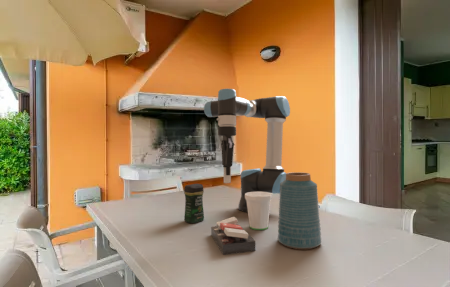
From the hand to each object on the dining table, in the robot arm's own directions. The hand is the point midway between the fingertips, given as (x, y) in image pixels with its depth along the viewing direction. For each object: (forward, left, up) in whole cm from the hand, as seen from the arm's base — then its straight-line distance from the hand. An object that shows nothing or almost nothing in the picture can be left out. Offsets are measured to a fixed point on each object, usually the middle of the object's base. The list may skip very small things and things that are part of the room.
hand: (227, 182), depth 113 cm
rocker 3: (0, +13, -17) cm, 21 cm away
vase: (-25, +15, -23) cm, 37 cm away
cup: (-17, -7, -23) cm, 29 cm away
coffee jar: (+10, -26, -23) cm, 36 cm away
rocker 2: (0, +7, -17) cm, 18 cm away
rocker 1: (0, 0, -17) cm, 17 cm away
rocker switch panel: (0, +3, -22) cm, 23 cm away
